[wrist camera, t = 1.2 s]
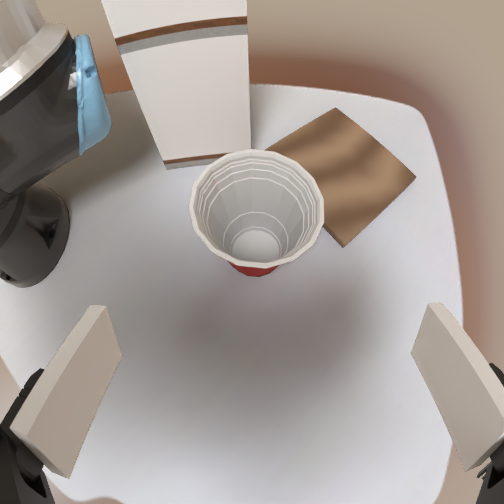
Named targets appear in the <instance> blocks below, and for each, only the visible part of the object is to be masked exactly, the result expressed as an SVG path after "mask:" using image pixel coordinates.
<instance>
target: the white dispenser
mask: <svg viewBox="0 0 504 504" xmlns="http://www.w3.org/2000/svg"><path fill="white" fill-rule="evenodd" d="M101 1H102V4H103V7H104V10H105V13H106V16H107V19H108V22H109V25H110V27H111V30H112V33H113V36H114V38H115V41H116V44H117V47H118V49H119V52H120V55H121V58H122V60H123V63H124V66H125V68H126V71H127V73H128V76H129V79H130V81H131V84H132V86H133V89H134V91H135V94H136V97H137V99H138V102H139V104H140V107H141V109H142V111H143V114H144V116H145V119H146V121H147V124H148V126H149V129H150V131H151V133H152V136H153V138H154V141H155V143H156V145H157V148H158V150H159V152H160V155H161V157H162V159H163V162H164V164H165V166H166V169H167V170H168V169H175V168H183V167H191V166H199V165H208V164H211V163H213V162H214V161H216V160H218V159H219V158H221V157H223V156H224V155H226V154H229V153H234V152H238V151H243V150H248V149H251V127H250V94H249V62H248V34H247V33H248V32H247V2H246V0H101Z"/></svg>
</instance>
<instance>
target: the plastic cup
mask: <svg viewBox="0 0 504 504" xmlns="http://www.w3.org/2000/svg"><path fill="white" fill-rule="evenodd" d="M189 211H190V215H191V219H192V223H193V227H194V231H195V232H196V233H197V235H198V236H199V237H200V238H201V240H202V241H203V242H204V243H205V245H206V246H207V247H208V248H209V249H210V251H211V252H213V253H214V254H216V255H218V256H220V257H222V258H224V259H226V260H227V261H228V262H229V263H230V264H231V265H232V266H233V267H234V268H236V269H237V270H238V271H239V272H241V273H243V274H245V275H247V276H255V277H260V276H263V275H266V274H269V273H271V272H272V271H273V270H274V269H275V268H277V267H278V266H279V265H280V264H284V263H287V262H291V261H294V260H295V259H296V258H298V257H299V256H300V255H301V254H302V253H304V252H305V251H306V250H307V249H308V248H310V247H311V246H312V245H313V244H314V243H315V241H316V239H317V236H318V234H319V232H320V230H321V228H322V226H323V223H324V199H323V196H322V194H321V192H320V190H319V188H318V186H317V184H316V182H315V179H314V178H313V177H312V176H311V175H310V174H309V173H308V172H307V171H306V170H305V169H304V168H303V167H302V166H301V165H300V164H299V163H297V162H296V161H294V160H292V159H290V158H287V157H285V156H283V155H281V154H279V153H276V152H272V151H264V150H255V149H248V150H243V151H238V152H234V153H229V154H226V155H224V156H223V157H221V158H219V159H218V160H216V161H214V162H213V163H211V164H210V165H208V166H207V167H206V168H205V169H204V171H203V172H202V173H201V175H200V176H199V177H198V179H197V180H196V182H195V183H194V184H193V188H192V193H191V198H190V202H189Z"/></svg>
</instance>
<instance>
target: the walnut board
mask: <svg viewBox="0 0 504 504" xmlns="http://www.w3.org/2000/svg"><path fill="white" fill-rule="evenodd" d="M264 151H272V152H276V153H279V154H281V155H283V156H285V157H287V158H290V159H292V160H294V161H296V162H297V163H299V164H300V165H301V166H302V167H303V168H304V169H305V170H306V171H307V172H308V173H309V174H310V175H311V176H312V177H313V178H314V179H315V182H316V184H317V186H318V188H319V190H320V192H321V194H322V196H323V199H324V223H323V227H324V228H325V229H326V231H327V232H328V233H329V234H330V235H331V236H332V237H333V238H334V239H335V240H336V241H337V242H338V243H339V244H340V245H341V246H342V247H343V248H344V247H345V246H346V245H347V244H348V243H349V242H350V241H351V240H352V239H353V238H355V237H356V236H357V235H358V234H359V233H360V232H361V231H362V230H363V229H364V228H365V227H366V226H367V225H369V224H370V223H371V222H372V221H373V220H374V219H375V218H376V217H377V216H378V215H379V214H380V213H381V212H382V211H383V210H384V209H385V208H386V207H387V206H388V205H389V204H390V203H392V202H393V201H394V200H395V199H396V198H397V197H398V196H399V195H400V194H401V193H402V192H403V191H404V190H405V189H406V188H407V187H408V186H409V185H410V184H411V183H412V182H413V181H414V180H415V178H416V176H415V175H414V174H413V173H412V172H411V171H410V170H409V169H408V168H407V167H406V166H405V165H404V164H403V163H402V162H400V161H399V160H398V159H397V158H396V157H395V156H394V155H393V154H392V153H391V152H389V151H388V150H387V149H386V148H385V147H384V146H383V145H382V144H380V143H379V142H378V141H377V140H376V139H375V138H373V137H372V136H371V135H370V134H369V133H367V132H366V131H365V130H364V129H363V128H361V127H360V126H359V125H358V124H356V123H355V122H354V121H353V120H351V119H350V118H349V117H347V116H346V115H345V114H344V113H342V112H341V111H340V110H338V109H337V108H334V109H332V110H330V111H328V112H327V113H325V114H323V115H322V116H320V117H318V118H316V119H315V120H313V121H311V122H310V123H308V124H306V125H304V126H303V127H301V128H299V129H298V130H296V131H295V132H293V133H291V134H290V135H288V136H286V137H285V138H283V139H281V140H280V141H278V142H277V143H275V144H273V145H272V146H270V147H269V148H267V149H266V150H264Z"/></svg>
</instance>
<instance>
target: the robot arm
mask: <svg viewBox="0 0 504 504" xmlns="http://www.w3.org/2000/svg"><path fill="white" fill-rule="evenodd" d="M111 126H112V120H111V116H110V113H109V109H108V106H107V102H106V99H105V95H104V92H103V88H102V84H101V81H100V77H99V74H98V70H97V66H96V62H95V58H94V54H93V50H92V46H91V42H90V38H89V36H88V35H86V34H84V35H81V36H80V35H77V36H76V37H75V38H74V39H72V38H71V35H70V33H69V31H68V29H67V27H66V26H65V25H64V24H60V23H53V22H46V21H45V20H44V19H43V17H42V15H41V12H40V10H39V8H38V6H37V4H36V1H35V0H0V278H1V279H3V280H4V281H5V282H7V283H10V284H12V285H14V286H17V287H21V288H25V287H30V286H33V285H35V284H37V283H38V282H40V281H41V280H43V279H44V278H45V277H46V276H47V275H48V274H49V273H50V272H51V270H52V269H53V268H54V266H55V265H56V263H57V262H58V260H59V258H60V256H61V254H62V252H63V250H64V247H65V244H66V241H67V237H68V231H69V214H68V210H67V207H66V205H65V203H64V201H63V200H62V199H61V198H60V197H59V196H58V195H57V194H56V193H55V192H54V191H53V190H51V189H50V188H47V187H45V186H42V185H39V184H36V182H37V181H39V180H40V179H42V178H43V177H45V176H47V175H48V174H50V173H51V172H53V171H54V170H56V169H57V168H59V167H61V166H62V165H64V164H66V163H67V162H69V161H71V160H72V159H74V158H76V157H77V156H82V154H84V152H85V151H86V150H88V149H89V148H91V147H92V146H94V145H96V144H97V143H99V142H100V141H102V140H104V139H105V138H106V137H107V136H108V134H109V132H110V130H111ZM411 355H412V357H413V359H414V360H415V362H416V364H417V366H418V368H419V370H420V372H421V374H422V376H423V378H424V380H425V382H426V384H427V386H428V388H429V390H430V392H431V394H432V396H433V398H434V401H435V403H436V405H437V407H438V409H439V411H440V413H441V416H442V418H443V420H444V422H445V424H446V427H447V429H448V431H449V434H450V436H451V438H452V441H453V443H454V445H455V447H456V450H457V452H458V455H459V458H460V460H461V462H462V465H463V468H464V470H465V472H466V471H468V470H471V469H473V468H475V467H477V466H479V465H481V464H482V463H483V462H484V461H485V460H486V459H487V458H488V457H489V456H490V458H491V462H490V463H489V464H488V465H487V466H486V467H485V468H484V469H482V470H481V471H480V472H479V473H478V475H477V478H479V477H480V476H481V475H483V474H484V473H485V472H486V474H485V476H483V478H482V479H484V481H483V484H482V487H481V490H480V493H479V496H478V499H477V502H476V504H504V374H503V373H502V371H501V370H500V369H499V368H497V367H496V366H495V365H494V364H493V363H490V364H488V363H487V361H486V360H485V358H484V357H483V356H482V354H481V353H480V351H479V350H478V349H477V347H476V346H475V344H474V343H473V342H472V340H471V339H470V338H469V336H468V335H467V334H466V332H465V331H464V330H463V328H462V327H461V326H460V324H459V323H458V322H457V321H456V319H455V318H454V317H453V315H452V314H451V313H450V312H449V310H448V309H447V308H446V307H445V305H444V304H443V303H442V302H441V303H430V304H428V305H427V308H426V311H425V314H424V317H423V320H422V323H421V326H420V329H419V332H418V335H417V338H416V340H415V343H414V346H413V348H412V351H411ZM122 356H123V355H122V352H121V350H120V347H119V344H118V341H117V338H116V335H115V332H114V329H113V326H112V323H111V320H110V316H109V313H108V310H107V306H102V305H90V307H89V308H88V309H87V311H86V312H85V313H84V315H83V316H82V317H81V319H80V320H79V321H78V323H77V324H76V326H75V327H74V328H73V330H72V331H71V332H70V334H69V335H68V337H67V338H66V339H65V341H64V342H63V344H62V345H61V347H60V348H59V349H58V351H57V352H56V354H55V355H54V357H53V358H52V360H51V361H50V363H49V364H48V366H47V367H46V369H45V370H44V369H41V368H40V369H39V370H38V371H36V372H35V373H34V374H33V375H32V376H30V378H29V379H28V381H27V382H26V384H25V385H24V389H23V388H22V390H21V392H20V393H19V397H17V398H16V399H15V401H14V403H13V404H12V406H11V408H10V410H9V411H8V413H7V414H6V416H5V418H4V419H3V421H2V423H1V424H0V504H55V502H54V499H53V496H52V493H51V491H50V488H49V485H48V482H47V479H46V476H45V474H44V472H43V470H42V468H43V465H45V466H46V467H47V468H48V469H49V470H50V471H52V472H53V473H56V474H58V475H61V476H63V477H66V478H68V479H69V478H70V476H71V473H72V470H73V468H74V465H75V463H76V460H77V457H78V455H79V452H80V450H81V447H82V445H83V443H84V440H85V438H86V435H87V433H88V431H89V428H90V426H91V423H92V421H93V419H94V417H95V414H96V412H97V410H98V407H99V405H100V403H101V401H102V399H103V396H104V394H105V392H106V390H107V388H108V385H109V383H110V381H111V379H112V377H113V375H114V373H115V370H116V368H117V366H118V364H119V362H120V360H121V358H122Z"/></svg>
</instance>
